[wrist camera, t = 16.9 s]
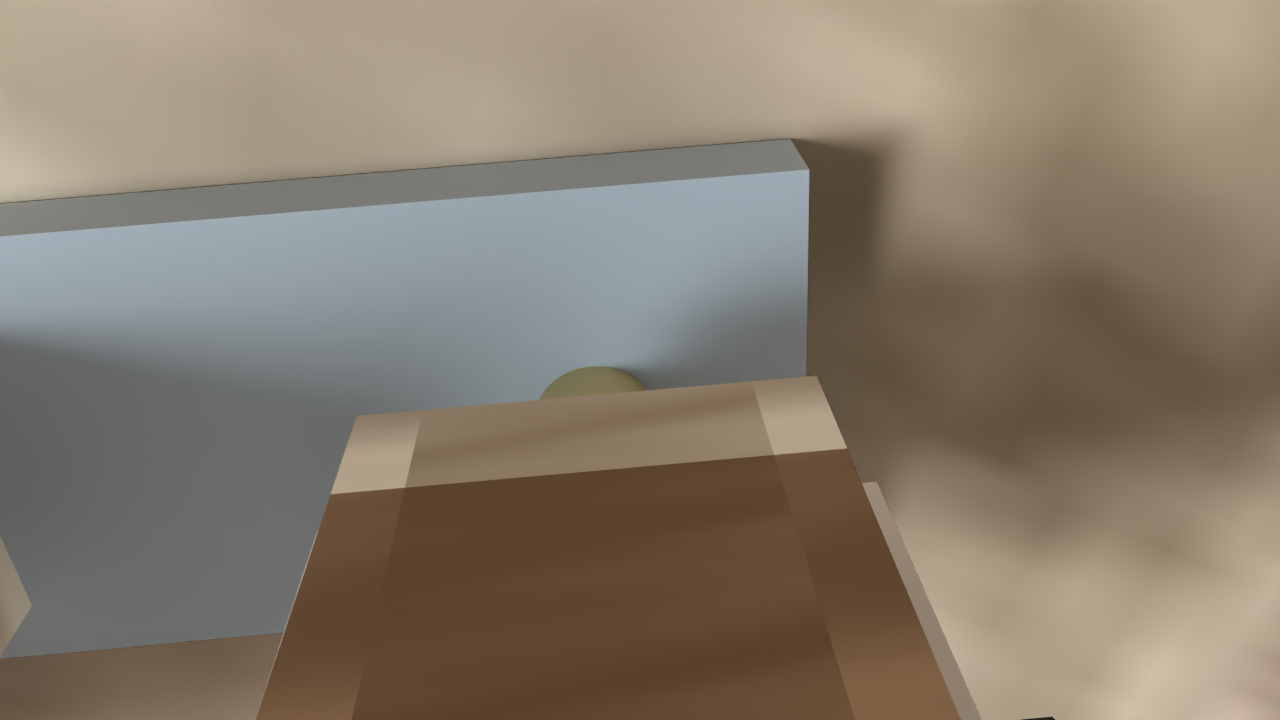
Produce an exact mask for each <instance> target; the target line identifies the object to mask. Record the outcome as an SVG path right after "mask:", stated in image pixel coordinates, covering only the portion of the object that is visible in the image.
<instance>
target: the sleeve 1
mask: <svg viewBox="0 0 1280 720" xmlns="http://www.w3.org/2000/svg"><path fill="white" fill-rule="evenodd" d="M31 607H32V604H31V602H30V600H29V598H28V596H27V593H26V591H25V589H24V587H23V585H22V582H21V580H20V578H19V576H18V574H17V572H16V569H15V567H14V565H13V563H12V561H11V558H10V556H9V554H8V552H7V550H6V548H5V545H4V543H3V541H2V539H1V537H0V655H1V654H2V652H3V651H4V649H5V647H6V646H7V644H8V643H9V641H10V640H11V638H12V637H13V635H14V633H15V632H16V630H17V629H18V627H19V626H20V624H21V622H22V621H23V619H24V618H25V616H26V615H27V613H28V612H29V610H30V608H31Z"/></svg>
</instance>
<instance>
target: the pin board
mask: <svg viewBox="0 0 1280 720" xmlns="http://www.w3.org/2000/svg"><path fill="white" fill-rule="evenodd" d="M808 230H809V168H808V166H807V165H806V163H805V162H804V160H803V158H802V157H801V155H800V153H799V152H798V150H797V149H796V147H795V145H794V144H793V142H792V141H791V139H781V140H769V141H757V142H745V143H733V144H720V145H708V146H696V147H684V148H672V149H660V150H647V151H635V152H623V153H611V154H599V155H587V156H574V157H562V158H550V159H538V160H526V161H514V162H501V163H489V164H477V165H465V166H453V167H441V168H428V169H416V170H404V171H392V172H380V173H367V174H355V175H343V176H331V177H319V178H307V179H294V180H282V181H270V182H258V183H246V184H234V185H221V186H209V187H197V188H185V189H173V190H161V191H148V192H136V193H124V194H112V195H100V196H88V197H75V198H63V199H51V200H39V201H27V202H15V203H2V204H0V537H1V539H2V541H3V543H4V545H5V548H6V550H7V552H8V554H9V556H10V558H11V561H12V563H13V565H14V567H15V569H16V572H17V574H18V576H19V578H20V580H21V582H22V585H23V587H24V589H25V591H26V593H27V596H28V598H29V600H30V602H31V604H32V607H31V608H30V610H29V612H28V613H27V615H26V616H25V618H24V619H23V621H22V622H21V624H20V626H19V627H18V629H17V630H16V632H15V633H14V635H13V637H12V638H11V640H10V641H9V643H8V644H7V646H6V647H5V649H4V651H3V652H2V654H1V655H0V659H5V658H16V657H27V656H37V655H48V654H59V653H70V652H81V651H92V650H103V649H113V648H124V647H135V646H146V645H157V644H168V643H179V642H189V641H200V640H211V639H222V638H233V637H244V636H254V635H265V634H276V633H284V630H285V627H286V624H287V620H288V617H289V614H290V611H291V608H292V605H293V602H294V599H295V596H296V593H297V590H298V587H299V584H300V581H301V578H302V575H303V572H304V569H305V566H306V563H307V560H308V557H309V554H310V551H311V548H312V545H313V542H314V539H315V536H316V533H317V531H318V530H319V527H320V524H321V521H322V518H323V515H324V512H325V509H326V506H327V503H328V500H329V497H330V494H331V491H332V488H333V485H334V482H335V479H336V476H337V473H338V470H339V467H340V464H341V461H342V458H343V455H344V452H345V449H346V446H347V443H348V440H349V437H350V434H351V431H352V428H353V425H354V422H355V419H356V416H361V415H372V414H383V413H395V412H406V411H418V410H429V409H441V408H452V407H464V406H475V405H487V404H498V403H510V402H521V401H532V400H544V399H555V398H567V397H578V396H590V395H601V394H613V393H624V392H636V391H647V390H659V389H670V388H681V387H693V386H704V385H716V384H727V383H739V382H750V381H762V380H773V379H785V378H796V377H806V362H807V296H808Z"/></svg>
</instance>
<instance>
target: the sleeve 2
mask: <svg viewBox="0 0 1280 720" xmlns="http://www.w3.org/2000/svg"><path fill="white" fill-rule="evenodd" d="M255 720H961V719H960V717H959V714H958V712H957V709H956V707H955V705H954V702H953V700H952V697H951V695H950V693H949V690H948V688H947V685H946V683H945V681H944V678H943V676H942V674H941V671H940V669H939V666H938V664H937V662H936V659H935V657H934V654H933V652H932V650H931V647H930V645H929V643H928V640H927V638H926V635H925V633H924V631H923V628H922V626H921V623H920V621H919V619H918V616H917V614H916V611H915V609H914V607H913V604H912V602H911V600H910V597H909V595H908V592H907V590H906V588H905V585H904V583H903V580H902V578H901V576H900V573H899V571H898V569H897V566H896V564H895V561H894V559H893V557H892V554H891V552H890V549H889V547H888V545H887V542H886V540H885V538H884V535H883V533H882V530H881V528H880V526H879V523H878V521H877V518H876V516H875V514H874V511H873V509H872V506H871V504H870V502H869V499H868V497H867V495H866V492H865V490H864V487H863V485H862V483H861V480H860V478H859V475H858V473H857V471H856V468H855V466H854V464H853V461H852V459H851V456H850V454H849V452H848V449H847V447H846V444H845V442H844V440H843V437H842V435H841V432H840V430H839V428H838V425H837V423H836V421H835V418H834V416H833V413H832V411H831V409H830V406H829V404H828V401H827V399H826V397H825V394H824V392H823V390H822V387H821V385H820V382H819V380H818V378H817V376H808V377H796V378H785V379H773V380H762V381H750V382H739V383H727V384H716V385H704V386H693V387H681V388H670V389H659V390H647V391H636V392H624V393H613V394H601V395H590V396H578V397H567V398H555V399H544V400H532V401H521V402H510V403H498V404H487V405H475V406H464V407H452V408H441V409H429V410H418V411H406V412H395V413H383V414H372V415H361V416H356V419H355V422H354V425H353V428H352V431H351V434H350V437H349V440H348V443H347V446H346V449H345V452H344V455H343V458H342V461H341V464H340V467H339V470H338V473H337V476H336V479H335V482H334V485H333V488H332V491H331V494H330V497H329V500H328V503H327V506H326V509H325V512H324V515H323V518H322V521H321V524H320V527H319V530H318V533H317V536H316V539H315V542H314V545H313V548H312V551H311V554H310V557H309V560H308V563H307V566H306V569H305V572H304V575H303V578H302V581H301V584H300V587H299V590H298V593H297V596H296V599H295V602H294V605H293V608H292V611H291V614H290V617H289V620H288V623H287V626H286V629H285V632H284V635H283V638H282V641H281V644H280V647H279V650H278V653H277V656H276V659H275V662H274V665H273V668H272V671H271V674H270V677H269V680H268V683H267V686H266V689H265V692H264V695H263V698H262V701H261V704H260V707H259V710H258V713H257V716H256V719H255Z"/></svg>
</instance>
